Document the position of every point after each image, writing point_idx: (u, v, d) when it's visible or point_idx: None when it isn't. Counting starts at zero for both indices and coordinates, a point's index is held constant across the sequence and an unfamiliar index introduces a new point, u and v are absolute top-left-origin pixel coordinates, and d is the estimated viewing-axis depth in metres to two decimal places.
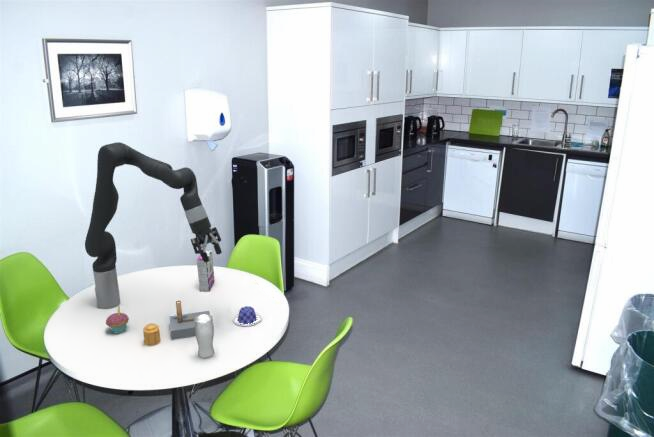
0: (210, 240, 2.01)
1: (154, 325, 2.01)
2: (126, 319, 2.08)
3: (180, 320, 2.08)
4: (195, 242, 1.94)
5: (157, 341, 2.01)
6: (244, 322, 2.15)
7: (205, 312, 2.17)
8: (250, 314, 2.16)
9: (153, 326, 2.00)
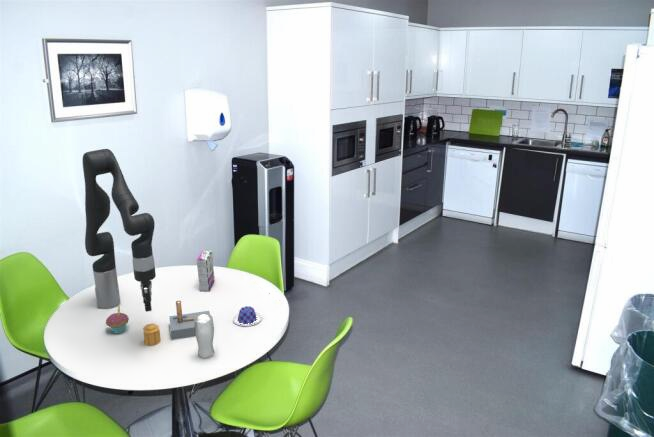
0: None
1: (154, 325, 2.01)
2: (126, 319, 2.08)
3: (180, 320, 2.08)
4: (147, 292, 1.89)
5: (157, 341, 2.01)
6: (244, 322, 2.15)
7: (205, 312, 2.17)
8: (250, 314, 2.16)
9: (153, 326, 2.00)
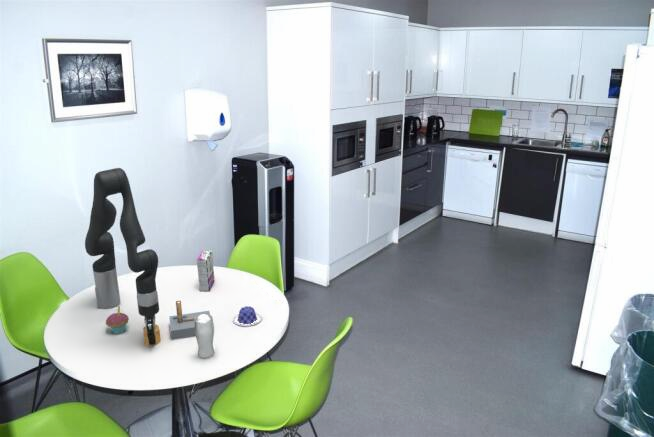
0: None
1: None
2: (126, 319, 2.08)
3: (180, 320, 2.08)
4: (151, 328, 1.94)
5: (157, 341, 2.01)
6: (244, 322, 2.15)
7: (205, 312, 2.17)
8: (250, 314, 2.16)
9: None
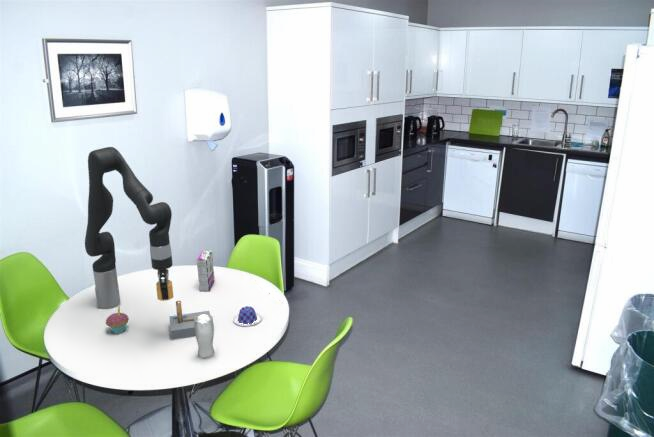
0: (166, 276, 2.00)
1: None
2: (126, 319, 2.08)
3: (180, 320, 2.08)
4: (164, 282, 1.93)
5: (170, 296, 2.00)
6: (244, 322, 2.15)
7: (205, 312, 2.17)
8: (250, 314, 2.16)
9: None
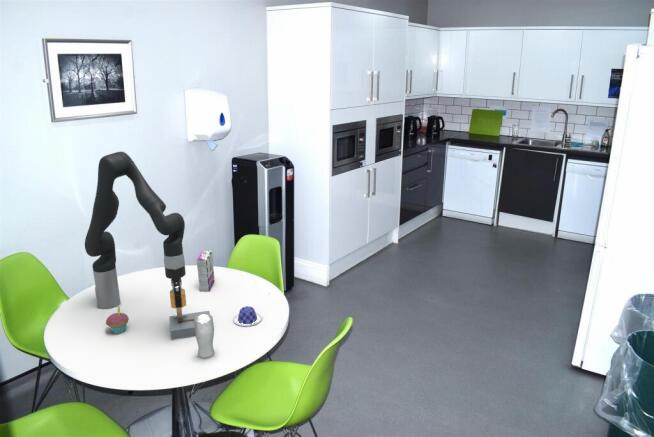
0: None
1: None
2: (126, 319, 2.08)
3: (180, 320, 2.08)
4: (178, 290, 1.98)
5: (183, 304, 2.05)
6: (243, 322, 2.15)
7: (205, 312, 2.17)
8: (250, 314, 2.15)
9: None
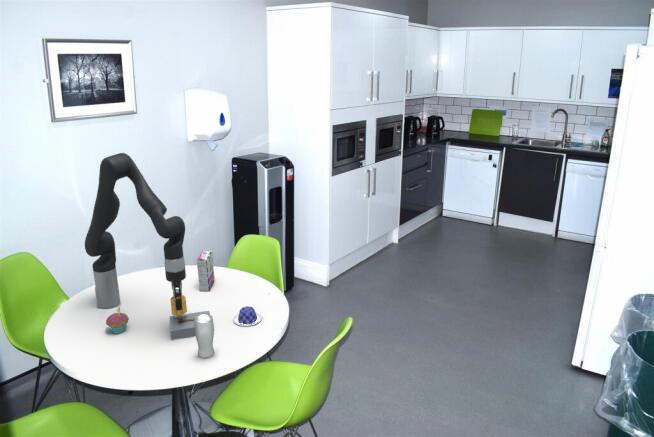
0: None
1: (181, 296, 2.06)
2: (126, 319, 2.08)
3: (180, 320, 2.08)
4: (179, 292, 1.98)
5: (184, 311, 2.06)
6: (243, 322, 2.16)
7: (205, 312, 2.17)
8: (249, 314, 2.15)
9: None
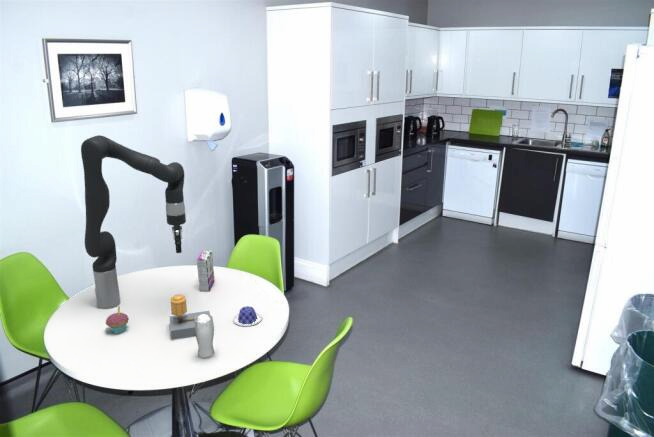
0: None
1: (181, 296, 2.06)
2: (126, 319, 2.08)
3: (180, 320, 2.08)
4: (179, 234, 2.09)
5: (184, 311, 2.06)
6: (243, 322, 2.16)
7: (205, 312, 2.17)
8: (249, 314, 2.15)
9: (180, 297, 2.05)
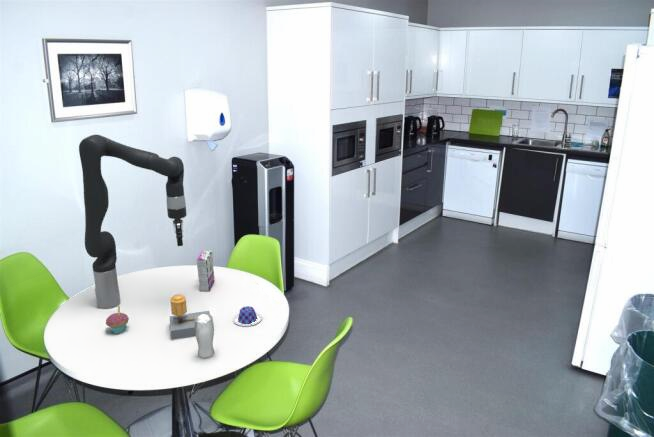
0: None
1: (181, 296, 2.06)
2: (126, 319, 2.08)
3: (180, 320, 2.08)
4: (180, 227, 2.12)
5: (184, 311, 2.06)
6: (242, 322, 2.16)
7: (205, 312, 2.17)
8: (249, 314, 2.15)
9: (180, 297, 2.05)
